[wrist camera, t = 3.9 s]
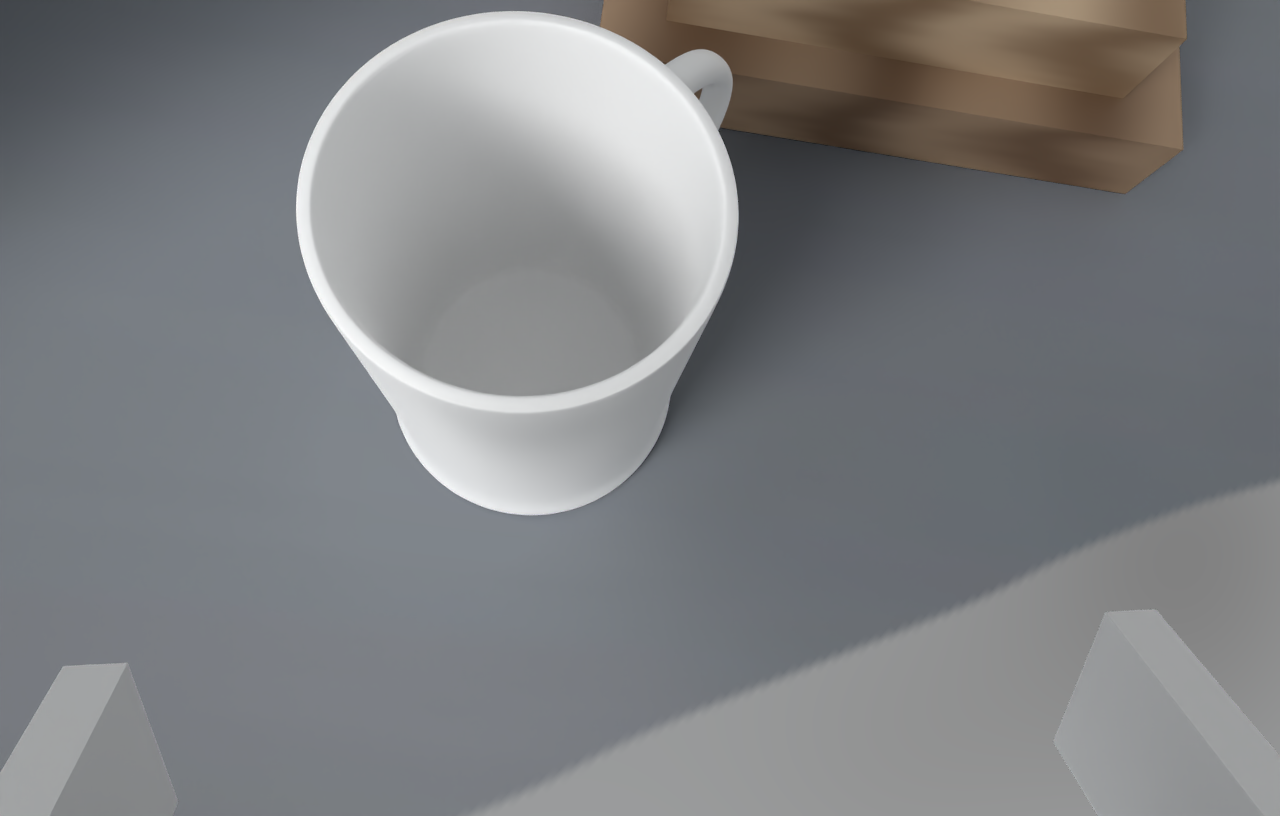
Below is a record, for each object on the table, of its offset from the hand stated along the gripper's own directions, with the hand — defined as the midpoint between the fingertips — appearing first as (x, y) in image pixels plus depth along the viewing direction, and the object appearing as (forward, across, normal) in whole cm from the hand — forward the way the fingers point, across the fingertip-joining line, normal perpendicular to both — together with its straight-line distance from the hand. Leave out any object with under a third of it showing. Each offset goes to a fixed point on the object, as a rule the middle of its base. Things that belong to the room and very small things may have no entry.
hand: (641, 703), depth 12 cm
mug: (+17, 0, -3) cm, 17 cm away
